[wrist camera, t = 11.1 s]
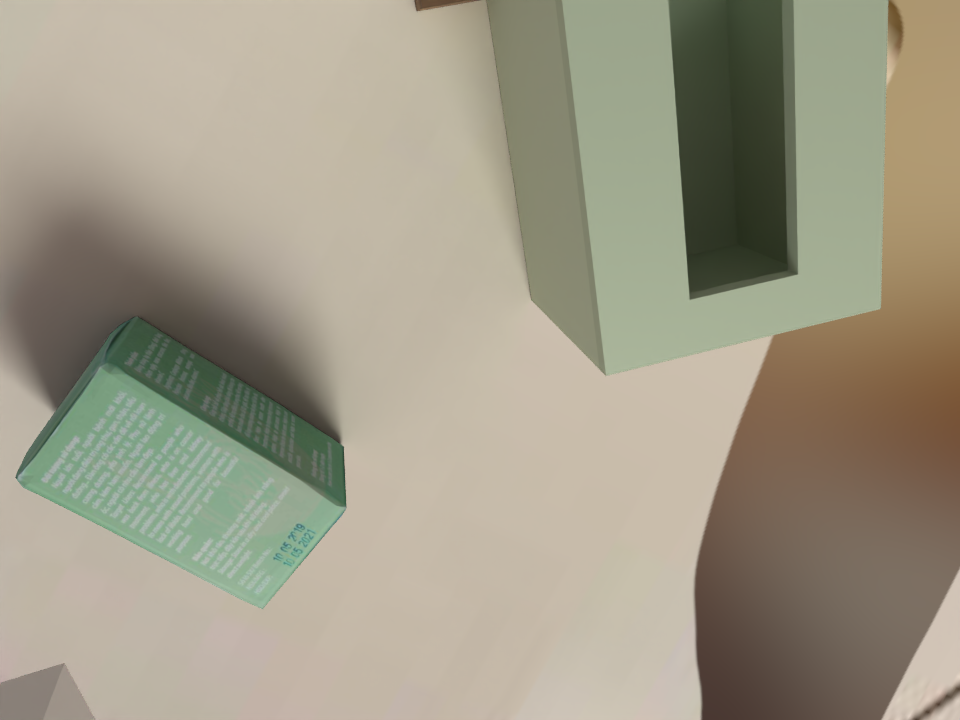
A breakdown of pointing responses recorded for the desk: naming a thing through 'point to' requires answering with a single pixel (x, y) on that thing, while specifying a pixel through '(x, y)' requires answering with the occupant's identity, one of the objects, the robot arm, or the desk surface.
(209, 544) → the box
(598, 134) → the box
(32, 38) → the desk surface
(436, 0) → the cradle
